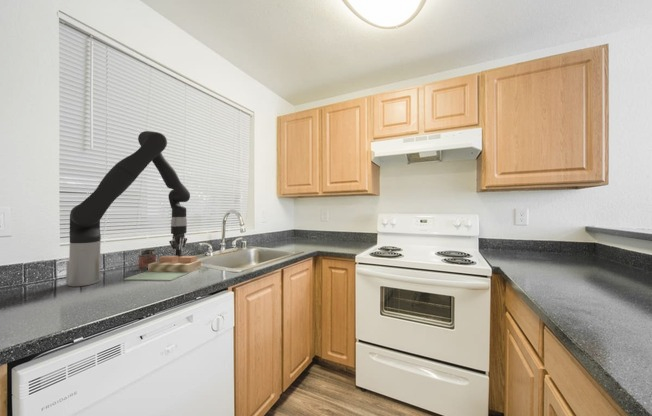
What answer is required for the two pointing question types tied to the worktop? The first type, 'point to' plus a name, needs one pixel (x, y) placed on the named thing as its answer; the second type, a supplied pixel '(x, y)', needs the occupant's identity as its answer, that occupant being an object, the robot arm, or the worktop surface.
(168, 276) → the mat
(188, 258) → the tile
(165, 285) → the worktop surface
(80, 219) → the robot arm
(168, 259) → the tile
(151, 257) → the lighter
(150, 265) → the wooden tray
